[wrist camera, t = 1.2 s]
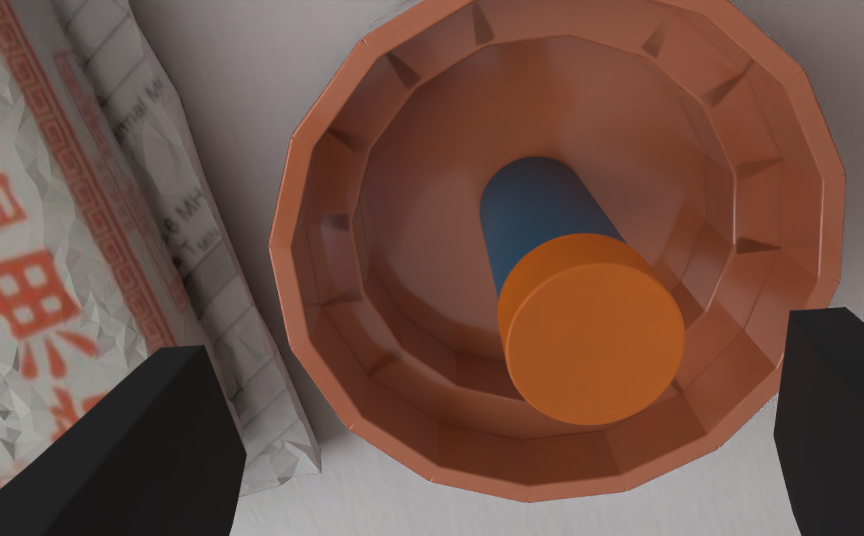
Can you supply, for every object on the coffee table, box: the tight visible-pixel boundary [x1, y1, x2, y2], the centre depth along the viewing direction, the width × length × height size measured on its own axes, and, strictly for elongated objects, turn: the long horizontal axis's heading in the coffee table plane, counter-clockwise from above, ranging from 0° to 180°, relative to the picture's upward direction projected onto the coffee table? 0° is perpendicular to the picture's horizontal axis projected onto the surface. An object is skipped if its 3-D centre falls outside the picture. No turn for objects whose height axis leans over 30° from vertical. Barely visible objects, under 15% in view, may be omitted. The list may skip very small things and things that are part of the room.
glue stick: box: [479, 157, 686, 425], centre depth 17 cm, size 3×3×8 cm
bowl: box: [268, 0, 846, 503], centre depth 19 cm, size 12×12×4 cm
